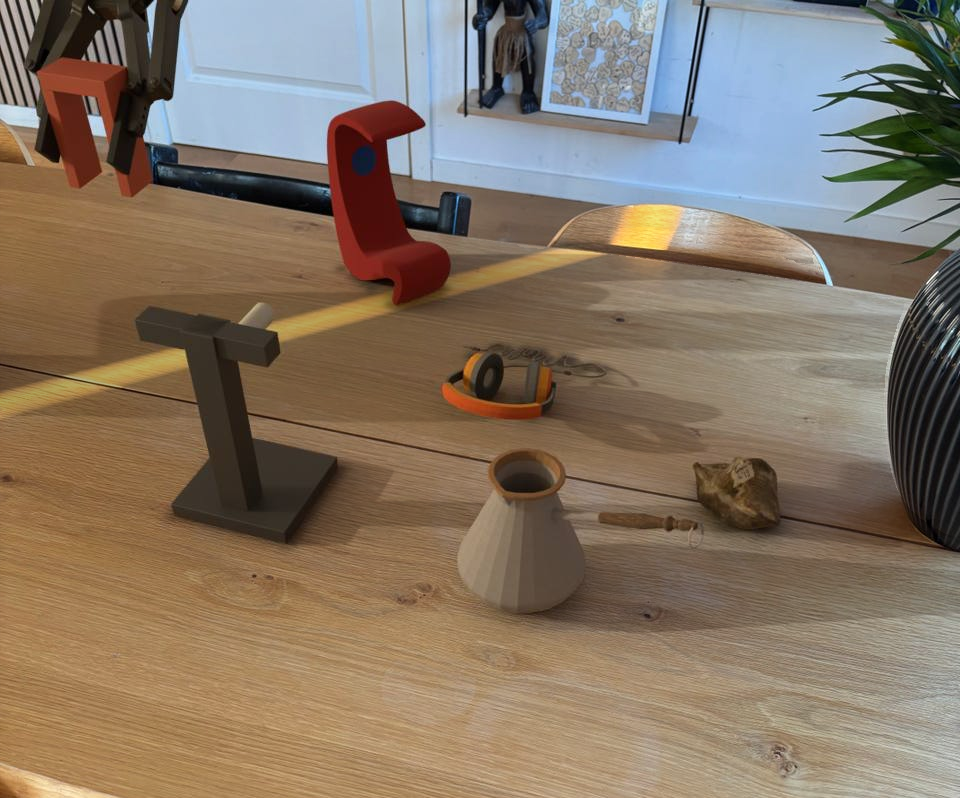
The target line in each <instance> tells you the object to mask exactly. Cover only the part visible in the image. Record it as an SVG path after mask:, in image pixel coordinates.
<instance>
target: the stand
mask: <svg viewBox="0 0 960 798" xmlns="http://www.w3.org/2000/svg"><path fill="white" fill-rule="evenodd" d="M275 315H276V314H275V311H274V308H272V307H271V306H270V305H269V304H268V303H266V302H258V303H256V304H255V305H254V306H253V307H252V308H251V309H250V311H249V312H247V314H246V315H245V316H243V318H242V319H241V320H240V321H239V322H238V323H236V322H232V321H231V320H230V319H226V318H221V317H217V316H212V315H208V314H202V313H197V314H191V313H187V312H182V311H177V310H172V309H168V308H163V307H158V306H154V305H148V306H147V307H146V308H145V309H143V311H142V312H141V313H140V314H139V315H138V316H137V317H135V318H134V325H135V327H136V331H137V336H138V338H139V341H141V342H144V343H149V344H154V345H158V346H164V347H168V348H172V349H177V350H182V351H184V353H185V357H186V362H187V365H188V366H187V367H188V371H189V375H190V378H191V383H192V387H193V391H194V397H195V399H196V400H195V401H196V405H197V408H198V413H199V416H200V423H201V427H202V430H203V431H202V432H203V435H204V440H205V444H206V449H207V452H208V459H207V460H206V461H205V463H204V464H203V465H202V466H201V467H200V469H198V471H197V472H196V473H195V475H193V477H192V478H191V479H190V480H189V481H188V483H187V484H186V485H185V486H184V488H183V489H182V490H181V491H180V493H178V495H177V496H176V497H175V499H173V501H172V502H171V504H170V506H171V510H172V513H173V516H174V517H178V518H182V519H185V520H190V521H194V522H197V523H202V524H205V525H210V526H214V527H218V528H222V529H226V530H230V531H233V532H237V533H241V534H244V535H250V536H253V537H257V538H262V539H264V540H268V541H269V540H270V541H272V542H277V543H281V544H284V545H285V544H286V545H287V544H288V542H289V541H290V539H291V538H292V536H293V535H294V533H295V532H296V531H297V529H298V528H299V526H300V525H301V523H302V522H303V520H304V519H305V518H306V516H307V515H308V513H309V512H310V510H311V509H312V508H313V506H314V504H315V503H316V502H317V500H318V499H319V498H320V496H321V494H322V492H324V490H325V488H326V487H327V486H328V484H329V483H330V481H331V480H332V478H333V477H334V476H335V474H336V473H337V472H338V470H339V463H338V461H339V460H338V456H334V455H330V454H325V453H321V452H317V451H313V450H308V449H304V448H299V447H295V446H292V445H286V444H282V443H279V442H274V441H269V440H265V439H261V438H256V437H253V435H252V434H253V433H252V428H251V425H250V418H249V414H248V408H247V403H246V397H245V392H244V386H243V382H242V381H243V380H242V377H241V371H240V366H239V365H240V364H239V363H243V364H247V365H252V366H257V367H262V368H266V369H268V368H270V366H271V365H272V364H273V363H274V362H275V360H276V359H277V358H278V356H280V354H281V347H280V346H281V345H280V339H279V333H278V332H279V331H274V330H270V329H267V328H268V327H269V326H270V325H271V324H272V323H273V322H274V320H275V318H276V317H275Z"/></svg>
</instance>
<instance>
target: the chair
mask: <svg viewBox="0 0 960 798" xmlns="http://www.w3.org/2000/svg"><path fill="white" fill-rule="evenodd" d="M426 126H427V125H426V121H425V120H424V118H422V117H421V116H420V115H419V114H418V113H417V112H416V111H415V110H414V109H413V108H411V107H410V106H408V105H406V104H405V103H402V102H401V101H397V100H392V99H391V100H383V101H379V102H374V103H369V104H366V105H362V106H359V107H356V108H352V109H350V110H347V111H344V112H341V113H339V114H337V115H335V116H334V117H333V118H332V119H331V120H330V122H329V124H328V126H327V131H326V132H327V133H326V158H327V160H326V161H327V170H328V180H329V191H330V200H331V206H332V207H331V208H332V213H333V220H334V221H333V222H334V226H335V227H334V228H335V232H336V238H337V242H338V246H339V250H340V254H341V258H342V262H343V264H344V266H345V268H346V269H347V270H348V272H349V273H350V274H351V275H352V276H353V277H354V278H356V279H358V280H360V281H374V280H375V281H376V280H381V279H386V278H387V279H390V280H391V281H393V283H394V287H393V294H392V303H393V305H394V306H400V305H403V304H407V303H410V302H412V301H416V300H418V299H421V298H423V297H425V296H428V295H430V294H432V293H435V292H436V291H439V290H440V289H442V288H443V287H444V286H445V284H446V282H447V281H448V279H449V276H450V273H451V268H452V267H451V266H452V265H451V259H450V255H449V253H448V251H447V250H446V249H445V248H444V247H442V246H441V245H439V244H438V243H435V242H431V241H427V240H426V241H424V240H416V239H414V237H412V235H411V234H410V232H409V230H408V229H407V226H406V223H405V221H404V218H403V215H402V212H401V209H400V207H399V203H398V200H397V196H396V192H395V188H394V184H393V178H392V174H391V169H390V159H389V151H388V150H389V149H388V141H389V140H392V139H396V138H399V137H402V136H405V135H409V134H411V133H414V132H417V131H419V130H421V129H424V128H425V127H426Z"/></svg>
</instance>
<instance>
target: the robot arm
mask: <svg viewBox="0 0 960 798" xmlns="http://www.w3.org/2000/svg"><path fill="white" fill-rule="evenodd" d="M154 1H155V0H42V2H41V6H40V10H39V13H38V16H37V19H36V23H35V26H34V29H33V32H32V36H31V39H30V43H29V46H28V49H27V53H26V56H25V59H24V63H23V64H24V68H25V69H26V70H28V72H30V73H31V74H32V75H34V76H35V77H36V78H38V74H37V72H38V71H39V70H41V69H43V68H44V67H46V66H48V65H49V64H51V63H53V62H54V61H56V60H58V59H60V58H61V57H64V58H71V59H78V60H83V58H84V56H85V54H86V52H87V51H88V49H89V47H90V45H91V43H92V41H93V39H94V37H95V36H96V34H97V32H98V31H102V30H103V29H104V28H105V26H106V24H107V23H108V21H117V20H118V21H120V22H121V28H122V37H123V45H124V46H123V47H124V54H125V62H126V67H127V71H128V79H129V83H128V84H129V85H127V84H126V83H125V85H126V87H127V88H128V89H129V90H130V91H131V92H132V94H131V95H130V94H129V93H128V92H125V91H120V96H119V101H118V106H117V111H116V116H115V121H114V125H113V130H112V135H111V140H110V145H109V144H108V151H107V156H106V160H105V161H106V163H107V164H108V165H109V166H111V167H112V168H113V169H114V170H115V169H116V170H118V171H119V172H120V173H122V174H124V175H130V170H131V165H132V160H133V155H134V150H135V145H136V140H137V137H139V138H142V137H143V138H144V136H145V134H146V130H147V125H148V119H149V115H150V110H151V107H152V105H153V104H154V103H155V102H157V101H161V100H162V101H165V102H170V101H171V100H172V99H173V98H174V94H175V93H174V92H175V84H176V83H175V82H176V73H177V72H176V71H177V61H178V52H179V42H180V31H181V21H182V18H183V16H184V13H185V11H186V8H187V6H188V4H189V0H156V3H155V7H154V18H153V27H152V39H151V48H150V44H149V35H148V33H150V25H149V17H148V16H149V15H148V8H149V7H150V6H151V5H152V3H153V2H154ZM89 8H90V9H91V10H92V11H93V12H92V11H91V10H90V9H89ZM150 50H151V51H150ZM35 113H36V116H37V117H38V118H39V123H38V129H37V133H36V139H35V144H34V151H35V152H37V153H38V154H39V155H40V156H42V157H44V158H45V159H46V160H48V161H50V162H51V163H53V164H60V159H61V154H60V151H59V147H58V144H57V140H56V137H55V133H54V130H53V126H52V123H51V119H50V116H49V113H48V109H47V106H46V102H45V99H44V95H43V92H42V88H41V86H40V87H39V92H38V98H37V103H36V108H35Z"/></svg>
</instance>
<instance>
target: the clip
mask: <svg viewBox="0 0 960 798" xmlns="http://www.w3.org/2000/svg"><path fill="white" fill-rule="evenodd" d="M37 74H38V77H37V79H38V82H39V85H40V87H41V88H42V92H43V95H44V99H45V102H46V106H47V109H48V113H49V116H50V119H51V123H52V126H53V130H54V133H55V137H56V140H57V144H58V147H59V151H60V154H61V155H60V159H61V161H62V164H63V168H64V171H65V175H66V178H67V182H68V185H69V188H74V189H82V188H83V187H84V186H86V185H87V184H88V183H90V182H91V181H93V180H94V179H96V177H98V176H99V175H101V174H102V173H103V169H102V166H101V162H100V158H99V154H98V151H97V147H96V143H95V138H94V135H93V131H92V128H91V124H90V120H89V115H88V113H87V107H86V104H85V101H84V97H89V98H90V97H91V98H96V101H97V104H98V108H99V112H100V116H101V120H102V124H103V127H104V131H105V137H106V140H107V144H108V146H109V145H110V140H111V135H112V130H113V125H114V121H115V116H116V111H117V106H118V101H119V96H120V91H125V92H128V93H129V94H130V95H131V94H132V92H131V91H130V90H129V89H128V88H127V87H126V85H125V83H126V84H127V85H129V84H128V83H129V79H128V71H127V65H125V66H124V65H119V64H111V63H105V62H97V61H92V60H91V61H90V60H85V59H84V60H83V59H82V60H78V59H71V58H64V57H61V58H60V59H58V60H56V61H54V62H53V63H51V64H49V65H48V66H46V67H44V68H43V69H41V70H39V71H38V72H37ZM114 171H115V175H116V179H117V183H118V188H119V191H120V195H121V196H122V197H127V198H134V197H135V196H136V195H137V194H138V193H140V192H142V190H144V189H145V188H146V187H148V186H149V185H150V184H151V183H152V182H154V179H153V175H152V170H151V165H150V161H149V156H148V152H147V147H146V143H145V139H144V136H143V137H142V138H139V137H137V140H136V145H135V150H134V155H133V160H132V165H131V170H130V175H124V174H122V173H120V172H119V171H118V170H116V169H115V168H114Z"/></svg>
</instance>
